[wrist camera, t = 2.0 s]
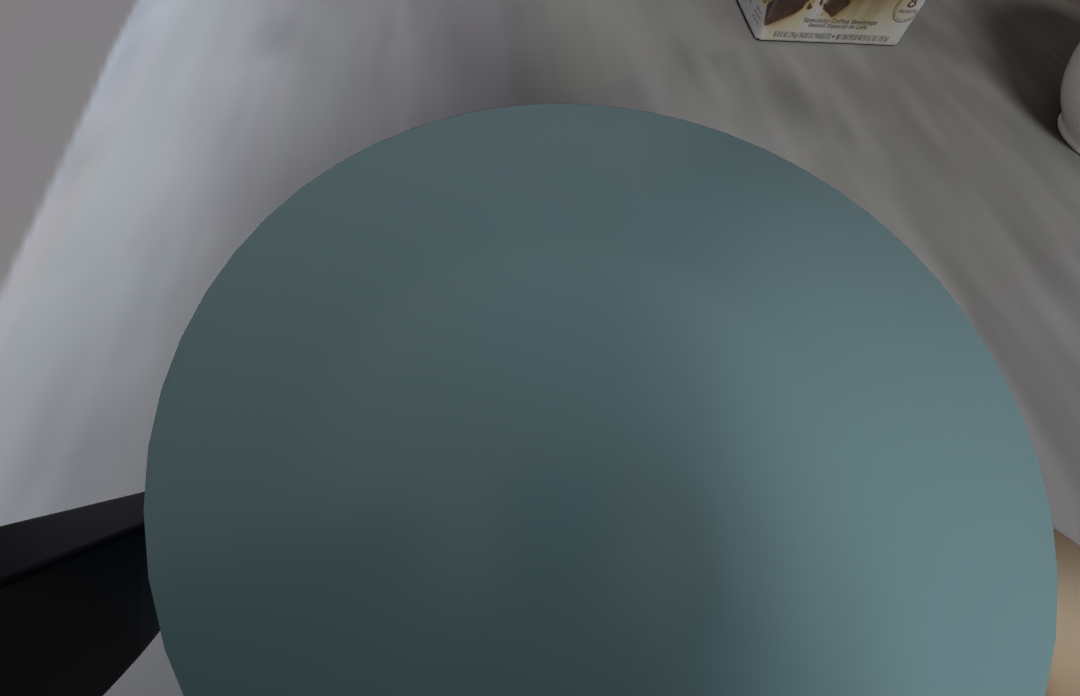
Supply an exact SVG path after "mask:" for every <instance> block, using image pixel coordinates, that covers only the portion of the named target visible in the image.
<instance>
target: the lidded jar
mask: <svg viewBox="0 0 1080 696" xmlns="http://www.w3.org/2000/svg"><path fill="white" fill-rule="evenodd" d="M1060 104H1061V111H1062V112H1061V113H1060V114H1059V115H1058V117H1057V127H1058V130H1059V132H1060V134H1061V136H1062V137H1063V139H1064V140H1065V141H1066V142H1067V144H1068V145H1069V146H1070V147H1071V148H1072V149H1073V150H1074V151H1076V152H1077V153H1078V154H1079V155H1080V42H1079V43H1078V45H1077V46H1076V48H1075V50H1074V52H1073V53H1072V55H1071V58H1070V60H1069V62H1068V64H1067V66H1066V68H1065V72H1064V75H1063V79H1062V83H1061V92H1060Z"/></svg>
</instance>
